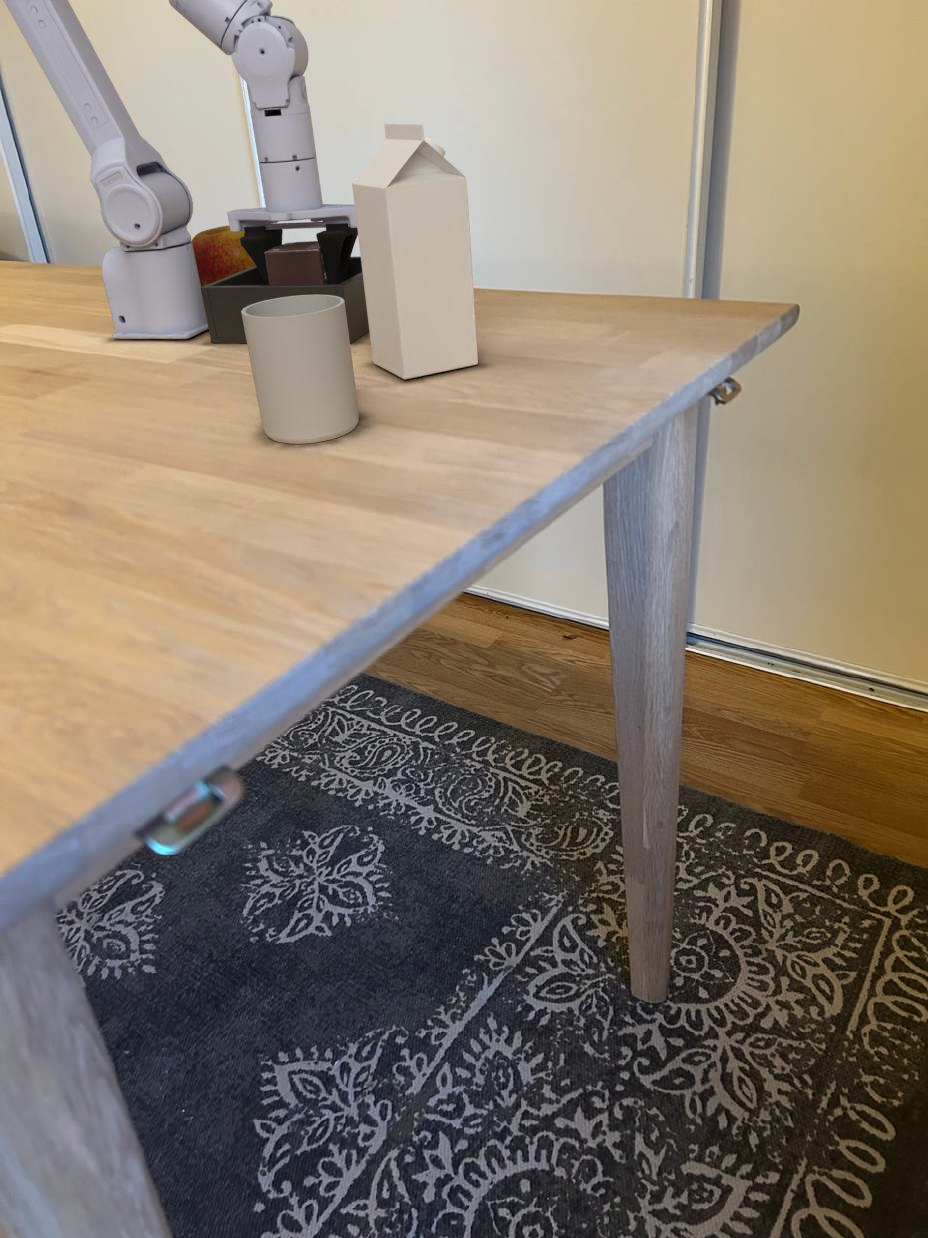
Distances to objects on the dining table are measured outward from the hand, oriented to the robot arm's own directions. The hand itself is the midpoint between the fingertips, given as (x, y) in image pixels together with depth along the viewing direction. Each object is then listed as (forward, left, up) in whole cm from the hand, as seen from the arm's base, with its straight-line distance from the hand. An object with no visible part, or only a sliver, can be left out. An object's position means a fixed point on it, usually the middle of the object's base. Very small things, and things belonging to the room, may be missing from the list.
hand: (308, 301), depth 100 cm
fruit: (-18, +15, -2) cm, 24 cm away
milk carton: (+18, -15, -2) cm, 24 cm away
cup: (+14, -31, -2) cm, 34 cm away
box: (0, 0, -2) cm, 2 cm away
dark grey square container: (0, 0, -2) cm, 2 cm away
